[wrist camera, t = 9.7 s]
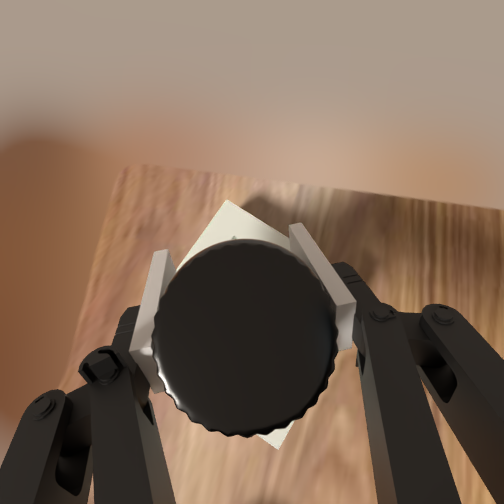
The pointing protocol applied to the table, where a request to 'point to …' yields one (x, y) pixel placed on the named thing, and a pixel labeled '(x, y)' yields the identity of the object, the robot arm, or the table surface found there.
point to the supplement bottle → (245, 338)
